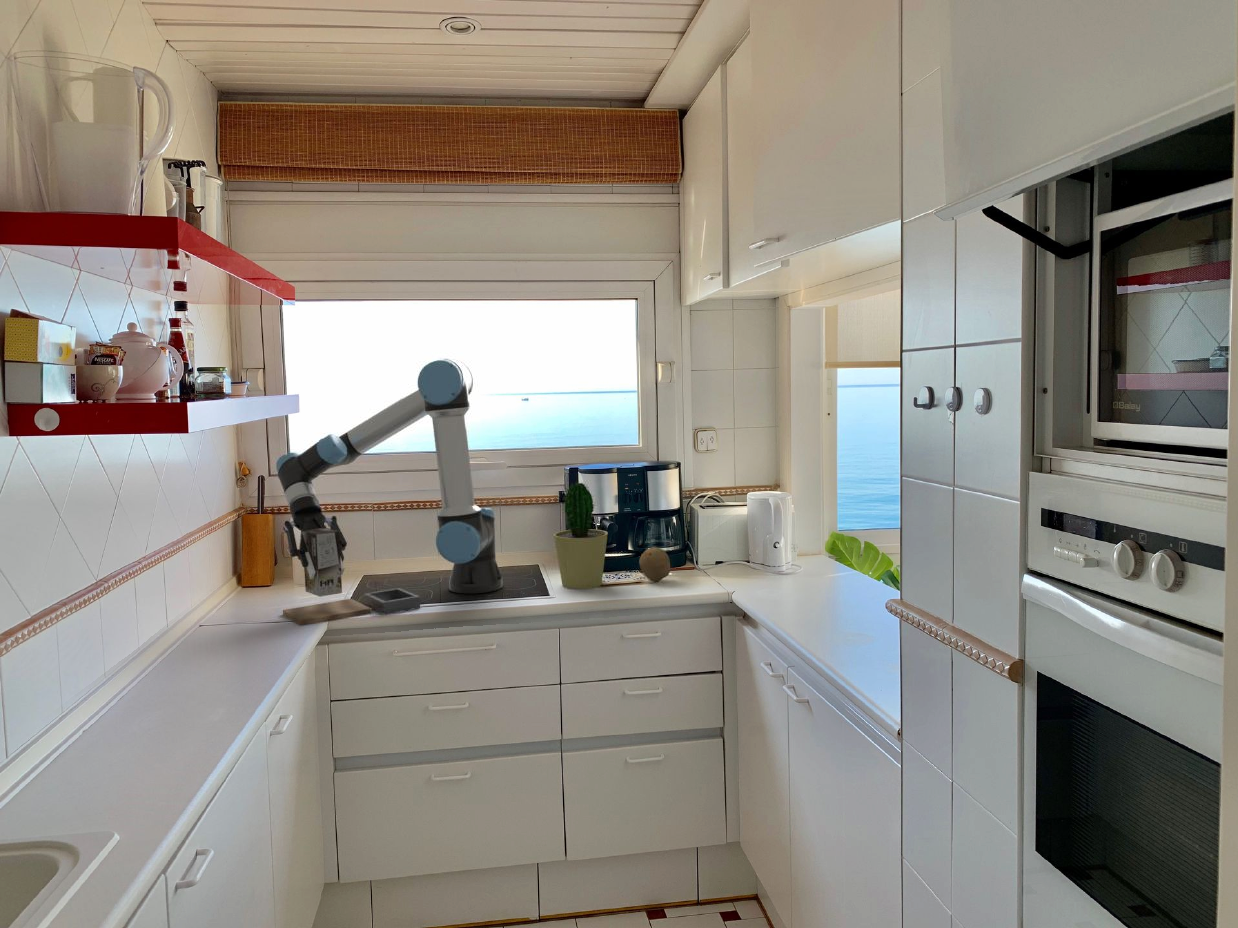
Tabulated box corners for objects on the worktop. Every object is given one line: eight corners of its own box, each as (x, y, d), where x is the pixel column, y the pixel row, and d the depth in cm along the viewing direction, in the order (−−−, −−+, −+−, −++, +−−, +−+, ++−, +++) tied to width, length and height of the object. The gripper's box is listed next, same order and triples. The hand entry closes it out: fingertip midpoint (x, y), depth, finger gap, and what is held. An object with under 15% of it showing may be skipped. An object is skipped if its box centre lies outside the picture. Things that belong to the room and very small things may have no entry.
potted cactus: (616, 587, 260) (614, 481, 257) (563, 592, 255) (560, 484, 252) (599, 576, 274) (596, 476, 271) (549, 581, 269) (546, 479, 266)
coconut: (641, 577, 271) (640, 544, 270) (671, 577, 270) (670, 544, 269) (638, 584, 262) (638, 550, 261) (670, 584, 261) (669, 550, 260)
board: (351, 602, 248) (350, 598, 248) (371, 612, 237) (370, 608, 237) (282, 614, 238) (282, 609, 238) (300, 625, 227) (300, 620, 226)
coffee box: (343, 593, 236) (340, 530, 234) (319, 597, 232) (316, 533, 230) (328, 587, 243) (325, 526, 241) (304, 591, 238) (301, 529, 237)
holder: (399, 598, 252) (399, 587, 252) (420, 607, 242) (419, 596, 241) (364, 604, 246) (363, 593, 246) (383, 614, 236) (383, 602, 235)
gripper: (336, 508, 253) (361, 576, 242) (262, 516, 242) (285, 588, 230) (342, 491, 249) (368, 559, 237) (267, 498, 237) (291, 570, 225)
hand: (327, 573), depth 234 cm, fingers closed on coffee box, 7 cm apart
